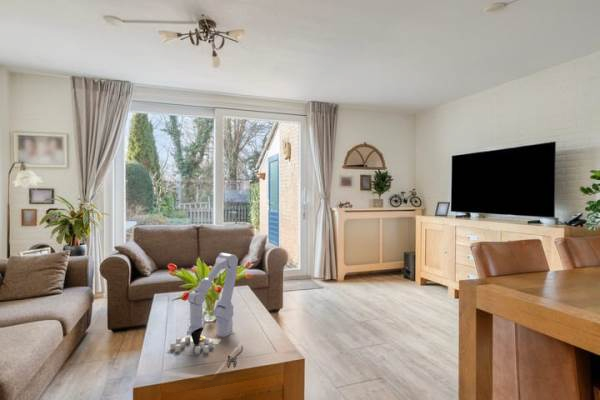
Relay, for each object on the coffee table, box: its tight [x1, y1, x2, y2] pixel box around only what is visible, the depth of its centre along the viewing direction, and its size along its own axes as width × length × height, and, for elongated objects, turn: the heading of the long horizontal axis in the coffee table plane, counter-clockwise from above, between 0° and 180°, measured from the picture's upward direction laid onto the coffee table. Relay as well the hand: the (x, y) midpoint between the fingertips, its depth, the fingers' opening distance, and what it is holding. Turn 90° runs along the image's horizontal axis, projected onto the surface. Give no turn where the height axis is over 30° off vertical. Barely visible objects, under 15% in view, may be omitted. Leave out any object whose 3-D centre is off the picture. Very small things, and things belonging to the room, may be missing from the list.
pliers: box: [226, 345, 244, 368], centre depth 153 cm, size 10×1×20 cm
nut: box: [198, 335, 206, 344], centre depth 164 cm, size 6×5×2 cm
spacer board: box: [166, 335, 222, 358], centre depth 159 cm, size 18×20×4 cm
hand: (196, 343), depth 160 cm, fingers closed
